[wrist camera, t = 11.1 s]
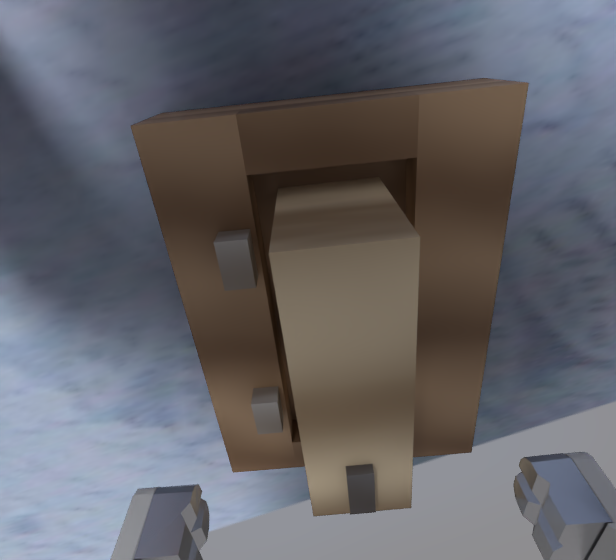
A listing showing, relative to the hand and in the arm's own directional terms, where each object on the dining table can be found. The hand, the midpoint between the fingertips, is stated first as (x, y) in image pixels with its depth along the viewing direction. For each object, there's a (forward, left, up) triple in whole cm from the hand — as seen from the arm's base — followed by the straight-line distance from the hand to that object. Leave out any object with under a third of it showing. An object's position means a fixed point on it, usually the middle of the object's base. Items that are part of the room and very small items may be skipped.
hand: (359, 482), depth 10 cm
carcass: (+1, 0, -11) cm, 11 cm away
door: (+1, 0, -9) cm, 9 cm away
